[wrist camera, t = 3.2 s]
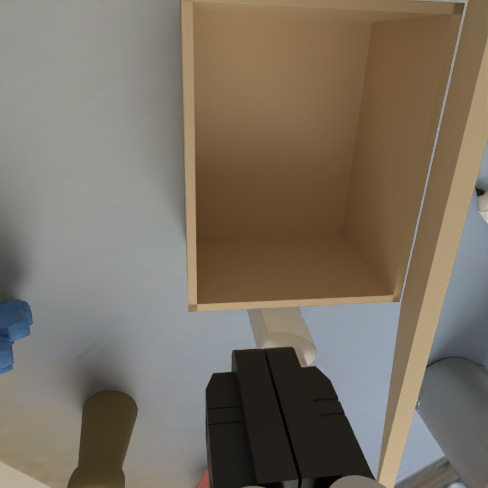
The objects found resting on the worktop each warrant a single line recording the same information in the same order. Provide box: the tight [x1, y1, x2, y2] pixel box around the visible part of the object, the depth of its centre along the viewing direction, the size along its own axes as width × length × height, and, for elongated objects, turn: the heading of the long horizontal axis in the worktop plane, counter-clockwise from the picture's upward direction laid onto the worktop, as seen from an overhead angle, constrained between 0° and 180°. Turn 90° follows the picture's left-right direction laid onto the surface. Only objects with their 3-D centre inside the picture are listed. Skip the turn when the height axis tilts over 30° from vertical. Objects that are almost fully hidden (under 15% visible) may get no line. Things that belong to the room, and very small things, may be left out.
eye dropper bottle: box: [247, 307, 317, 367], centre depth 41 cm, size 4×6×12 cm
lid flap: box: [377, 0, 488, 488], centre depth 21 cm, size 17×20×1 cm
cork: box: [67, 391, 138, 488], centre depth 44 cm, size 6×6×11 cm
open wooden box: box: [180, 0, 465, 312], centre depth 33 cm, size 16×20×12 cm
